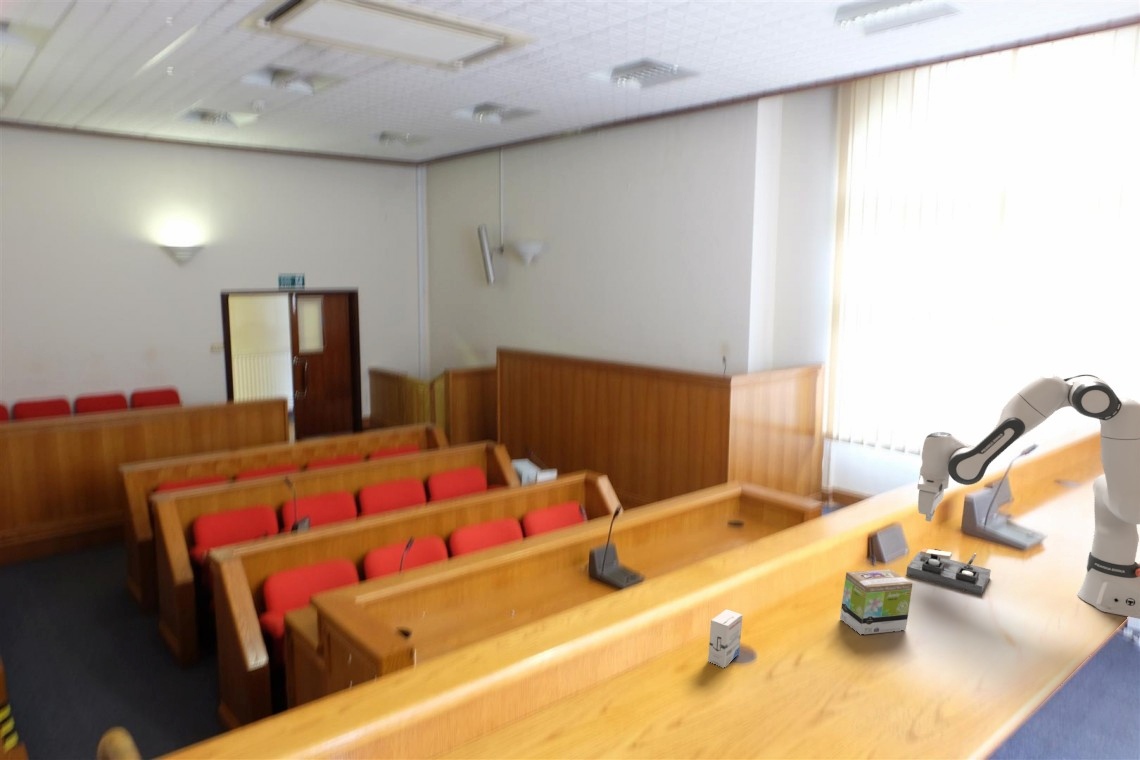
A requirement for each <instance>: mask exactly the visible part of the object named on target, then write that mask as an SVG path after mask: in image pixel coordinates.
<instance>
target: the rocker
mask: <svg viewBox="0 0 1140 760" xmlns="http://www.w3.org/2000/svg"><path fill="white" fill-rule="evenodd" d="M919 552H920V555H921V556H928V557H931V554H935V555H938V559H939V558H942V559H950V560H951V558H952V556H953V553H952V551H944V550H941V551H937V550H934V549H930V548H924V547H923V548H921V550H920V551H919ZM938 559H937V560H938Z"/></svg>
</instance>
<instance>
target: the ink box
mask: <svg viewBox="0 0 1140 760" xmlns="http://www.w3.org/2000/svg"><path fill="white" fill-rule="evenodd" d="M742 626H743V614H741V613H739V612H736V611H733V610H732V609H731V610H730V609H728V608H726V609H724V610H723V611H722V612H721V613H719V614H718V615H716V616H715V617H713V618H712V619H710V630H709V643H708V656H707V657H708V658H707V662H708V663H710V662H711V663H710V664H712V663H713V665H714V664H716V665H715V666H717V665H718V666H717V667H719V666H721V667H723V668H722V669H725V668H727V666H729V665H730V664H729V663H730V662H731V661H732V660H733V659H734V658H735V657H736V656H737V655H738V656H740V646H741V637H742V636H741V635H742V628H743V627H742ZM738 656H737V657H738ZM737 657H736V658H737ZM736 658H735V659H736ZM735 659H734V660H735ZM734 660H733V661H734ZM733 661H732V662H733ZM721 667H720V668H721ZM724 667H725V668H724Z"/></svg>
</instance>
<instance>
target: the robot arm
mask: <svg viewBox="0 0 1140 760" xmlns="http://www.w3.org/2000/svg"><path fill="white" fill-rule="evenodd" d="M1109 385H1110V384H1108V383H1107V382H1106V381H1105V380H1103V379H1101V378H1099V377H1097V376H1095V375H1092V374H1079V375H1076V376H1072V377H1068V378H1064V379H1063V378H1061V377H1060V376H1057V375H1055V374H1051V373H1050V374H1049V373H1047V374H1044V375H1042V376H1040V377H1038V378H1036V379H1035V380H1034V381H1032V382H1030V383H1029V384H1027V385H1026V386H1024V387H1023V388H1022V389H1021V390H1020V391H1018V392H1017V393H1016V394H1015V395H1013V396H1012V398H1011V399H1009V401H1008V402H1007V404H1005V406H1004V407H1003V408H1002V411H1001V413H1000V417H999V420H998V422H997V424H996V425H995V427H994V428H993V429H992V431H991V432H990V433H989V434H987V436H986V437H984V438H983V439H981V441H979V443H978V444H976V445H975V446H973V445H971V444H968V443H965V442H963V441H961V440H959V439H957V438H956V437H955V436H953V434H951V433H949V432H944V431H943V432H942V431H941V432H940V431H939V432H933V433H930V434H928V435H927V436H926V437H925V439H924V441H923V446H922V452H921V461H922V463H921V465H920V466H921V467H920V469H919V470H920V471H919V476H918V478H919V479H918V482H917V486H916V489H917V490H918V496H917V498H918V499H917V500H918V501H917V509H918V513H919V514H922V515H925V521H926V522H932V521H933V520H934V514H935V512H936V509H937V508H938V506H939V505H940V504H941V503H942V501H943V499H944V495H945V494H944V492H945V491H944V490H946V489H947V490H948V488H949V483H950V478H951V479H953V481H954V482H956V483H959V484H960V485H964V486H969V485H975V484H977V483H978V482H980V481H981V480H982V479H983V477H984V475H985V473H986V471H987V469H988V467H989V466H990V464H991V463H992V462H993V461H994V460H995V459H997V457H999V456H1000V455H1001V454H1002V453H1003V452H1004V451H1005V450H1006V449H1008V448H1009V447H1010V446H1011V445H1012V444H1013V443H1014V442H1016V441H1017V440H1018V439H1020V438H1022V437H1023V436H1025V435H1026V434H1027V433H1029V432H1031V431H1032V430H1034V429H1035V428H1037V427H1038V426H1039V425H1040V424H1042V423H1043V422H1045V421H1047V419H1049V417H1051V416H1052V415H1053V414H1054V413H1055V412H1056V411H1059V410H1061V409H1063V408H1066V407H1071V408H1073V409H1074V410H1076V412H1078V413H1079V414H1081V415H1082V416H1084V417H1088V418H1091V419H1092V418H1094V419H1096V420H1098V421H1099V424H1100V433H1099V434H1100V438H1099V439H1100V461H1101V464H1102V468H1103V472H1104V474H1103V473H1102V474H1101V475H1099V476H1098V477H1096V478H1095V480H1094V481H1093V485H1092V491H1093V496H1094V502H1093V503H1094V504H1093V505H1094V508H1093V509H1094V513H1093V514H1094V531H1093V538H1092V544H1091V550H1090V551H1089V553H1088V557H1087V561H1086V573H1085V577H1084V578H1083V579H1084V580H1083V582H1082V585H1081V586H1080V589H1079V590H1078V591H1077V596H1078V598H1079V599H1080V600H1082V601H1084V602H1086V603H1088V604H1090V605H1092V606H1093V607H1095V608H1096V609H1097V610H1099V611H1101V612H1105V613H1109V614H1114V615H1117V616H1118V615H1119V616H1125V617H1128V618H1129V617H1130V618H1134V619H1138V620H1140V562H1137V561H1136V557H1137V551H1138V546H1139V542H1140V541H1139V540H1140V537H1139V533H1138V526H1137V525H1140V403H1139V402H1138V401H1136V400H1134V399H1131V398H1126V397H1125V398H1124V397H1118V396H1117V394H1116V393H1115V392H1114V390H1113V388H1111V387H1110V386H1109Z"/></svg>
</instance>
